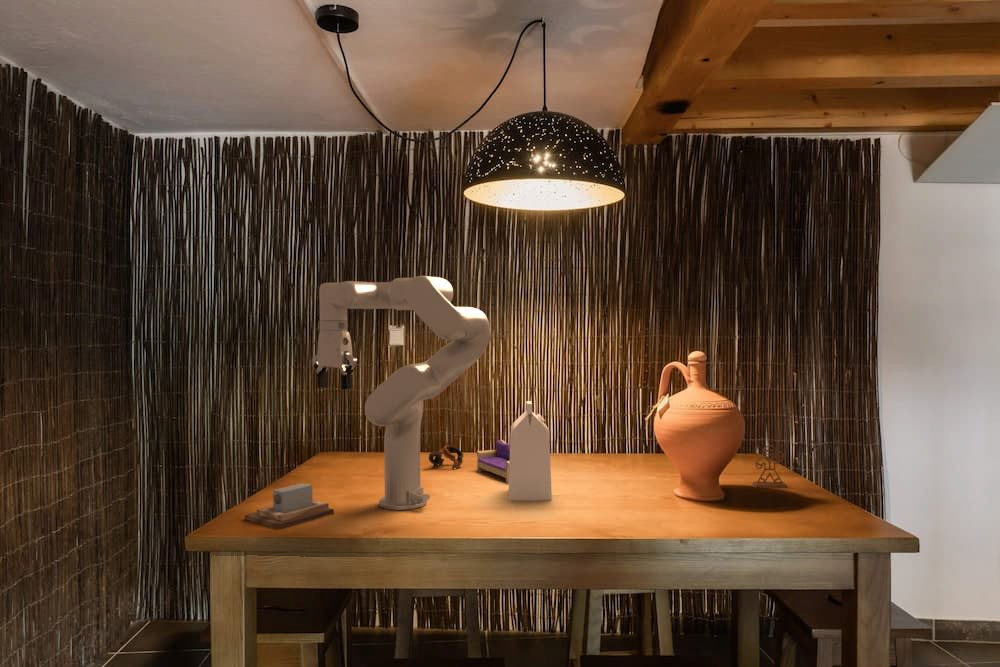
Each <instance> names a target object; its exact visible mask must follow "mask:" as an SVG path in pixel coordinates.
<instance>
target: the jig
mask: <svg viewBox="0 0 1000 667" xmlns="http://www.w3.org/2000/svg"><path fill="white" fill-rule="evenodd" d="M312 502H313V506H310V507H306V508H302V509H298V510H295V511H291V512H287V513H280V512H276V511H273V505H270V506H264V507H262V508H257V509H256V511H255V512H252V513H248V514H247V513H246V514H244V520H245V519H246V520H245V521H247V520H250V521H249V522H251V521H253V522H252V523H255V522H256V524H258V523H259V525H263V526H267V527H270V528H273V527H274V529H278V530H283V529H285V528H290V527H292V526H296V525H300V524H304V523H307V522H310V521H314V520H317V518H318V519H321V518H324V516H325V517H327V516H331V514H332V515H334V514H335V510H334V508H330V507H329V503H328V502H323V501H320V500H314V499H312Z"/></svg>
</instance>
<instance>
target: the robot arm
mask: <svg viewBox="0 0 1000 667" xmlns="http://www.w3.org/2000/svg"><path fill="white" fill-rule="evenodd" d="M318 292H319V293H318V294H319V333H318V341H317V354H315V355H314V356H312V359H311V360H312V363H313V366H314V367H313V368H314V369H315V372H316V374H317V389H318V388H319V389H322V388H328V387H329V374H328V372H327V371H328V370H329V368H330V369H333V368H334V369H339V370H340V372H341V373H342V374H341V375H340V384H341V385H340V389H341V390H343V391H344V390H345V391H346V390H351V389H352V375H353V374H354V370H355V369H356V366H357V362H358V359H357V358H356V357H355V356H353V347H352V346H353V345H352V339H351V335H350V332H349V331H348V328H349V325H348V309H349V310H351V309H352V310H355V309H356V310H358V309H359V310H381V309H383V310H384V309H387V310H388V309H393V310H395V311H413V312H414V313H415V314H416V316H417V317H418V318H420V319H421V321H422V322H423V323H424V324H425V325H426V326H427V327H428V328H429V329H430V330H431V331H432V332H433V333H434V334H435V335H436V336H437V337H438V338H440V339H442V340H444V341H448V343H446V344H445V345H444V346H442V347H441V348H440V349H438V351H436V353H434V354H433V355H432V356H430V358H428V359H427V360H426V361H425V360H424V361H422V362H418V363H417V362H416V363H412V364H406V365H404V366H401V367H400V368H398V369H397V370H396V371H394V372H393V373H392V374H390V375H389V376H388V377H387V378H386V379H384V381H383V382H382V383H381V384H379V385H378V386H377V387H376V388H375V389H374V390H373V391H371V393H370V394H369V395H368V396H367V398H366V401H365V403H364V404H365V405H364V414H365V417H366V418H367V420H368V421H369V422H370V423H371V424H373V425H374V426H379V427H385V431H384V438H383V446H384V447H383V450H384V451H383V455H384V457H383V458H384V459H383V461H384V462H383V463H384V464H383V465H384V466H383V468H384V474H383V475H384V497H382V498H380V499H379V500H378V507H380V508H382V509H386V510H393V511H394V510H395V511H396V510H397V511H404V510H406V511H407V510H413V509H419V508H422V507H424V506H425V505H426V504H427V502H428V501H429V500H430V498H431V495H430V493H424V487H422V486H421V426H422V425H421V423H422V418H423V413H424V412H423V411H424V402H423V401H426V400H431V399H434V398H435V397H437V396H438V395H440V394H441V393H442V392H443V391H444V390H446V389H447V388H448V387H449V386H450V385H451V384H452V383H453V382H455V381H456V380H457V379H458V378H459V377H460V376H461V375H462V374H464V373H465V372H466V371H468V370H469V368H470V367H472V366H473V365H475V363H476V362H477V361H478V360H479V359H480V358H481V357H482V355H483V354H484V352H485V351H486V349H487V347H488V345H489V342H490V336H491V326H490V321H489V319H488V316H487V315H486V314H485V313H484V312H483V311H482V310H480V309H478V308H476V307H471V306H454V305H453V304H452V300H453V298H454V289H453V286H452V284H451V283H450V282H449V281H448V280H446V279H445V278H443V277H439V276H431V275H428V276H427V275H418V276H414V277H397V278H395V279H393V280H392V281H388V282H387V281H385V282H384V281H383V282H382V281H381V282H380V281H379V282H378V281H377V282H375V281H374V282H372V281H371V282H370V281H369V282H368V281H359V280H358V281H354V280H346V281H341V282H324V283H321V284H320V285H319V290H318Z"/></svg>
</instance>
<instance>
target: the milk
mask: <svg viewBox="0 0 1000 667" xmlns="http://www.w3.org/2000/svg"><path fill="white" fill-rule="evenodd" d="M525 407H526V409H525V411H524V412H523V413H522V414H521V415H519V417H518V418H517V419H515V420H514V421H513V423H512V424H511V425H510V435H509V438H510V440H509V444H510V462H509V483H508V496H509V497H508V498H509V501H553V499H552V498H553V497H552V496H553V495H552V472H551V471H552V470H551V442H550V440H551V438H550V437H551V436H550V429H549V428H548V426H547V424H546V423H545V422H546V420H545V418H544V417H543V416H542V415H541V414H540V413H538V414H536V413H535V412H533V403H532V401H531V400H527V401H525Z"/></svg>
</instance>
